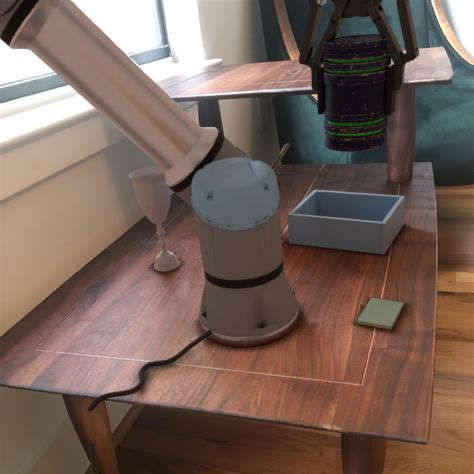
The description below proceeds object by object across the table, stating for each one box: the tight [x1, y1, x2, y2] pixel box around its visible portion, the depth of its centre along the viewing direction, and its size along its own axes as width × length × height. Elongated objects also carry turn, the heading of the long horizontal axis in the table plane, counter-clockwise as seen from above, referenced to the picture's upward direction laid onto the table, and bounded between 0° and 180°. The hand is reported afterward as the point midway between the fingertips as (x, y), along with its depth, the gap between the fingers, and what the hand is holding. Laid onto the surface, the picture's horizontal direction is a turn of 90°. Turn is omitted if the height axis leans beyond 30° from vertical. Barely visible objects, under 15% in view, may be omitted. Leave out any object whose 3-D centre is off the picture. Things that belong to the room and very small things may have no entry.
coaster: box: [356, 297, 404, 331], centre depth 81 cm, size 7×5×1 cm
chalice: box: [128, 165, 181, 272], centre depth 99 cm, size 7×7×18 cm
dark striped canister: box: [322, 33, 392, 153], centre depth 83 cm, size 10×10×15 cm
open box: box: [286, 189, 406, 256], centre depth 106 cm, size 14×19×6 cm
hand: (355, 112), depth 84 cm, fingers closed on dark striped canister, 10 cm apart
